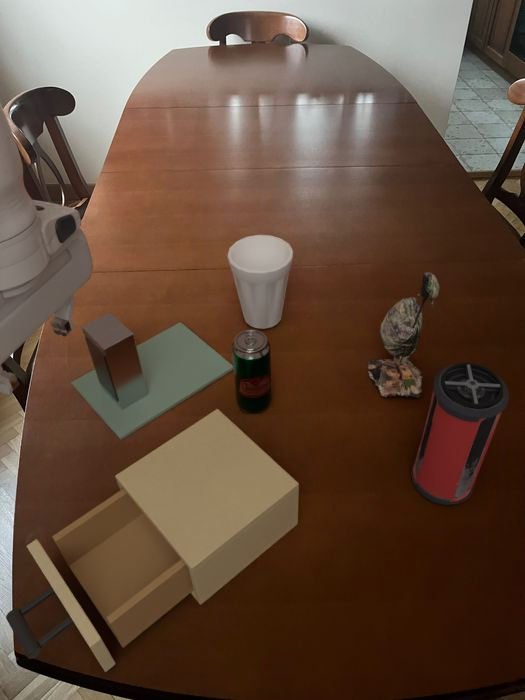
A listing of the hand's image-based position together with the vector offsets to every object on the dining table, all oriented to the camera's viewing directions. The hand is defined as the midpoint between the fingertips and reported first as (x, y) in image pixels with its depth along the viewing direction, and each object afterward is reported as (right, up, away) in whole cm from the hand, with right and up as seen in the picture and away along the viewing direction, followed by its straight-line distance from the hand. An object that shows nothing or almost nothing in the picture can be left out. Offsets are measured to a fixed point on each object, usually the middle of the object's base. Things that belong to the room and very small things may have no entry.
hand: (38, 358), depth 63 cm
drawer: (+7, -26, +1) cm, 27 cm away
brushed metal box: (+4, -5, +23) cm, 24 cm away
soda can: (+23, -7, +22) cm, 32 cm away
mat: (+8, -3, +26) cm, 27 cm away
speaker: (+47, -16, +12) cm, 51 cm away
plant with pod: (+44, -3, +25) cm, 51 cm away
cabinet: (+18, -20, +8) cm, 28 cm away
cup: (+24, +6, +35) cm, 43 cm away
